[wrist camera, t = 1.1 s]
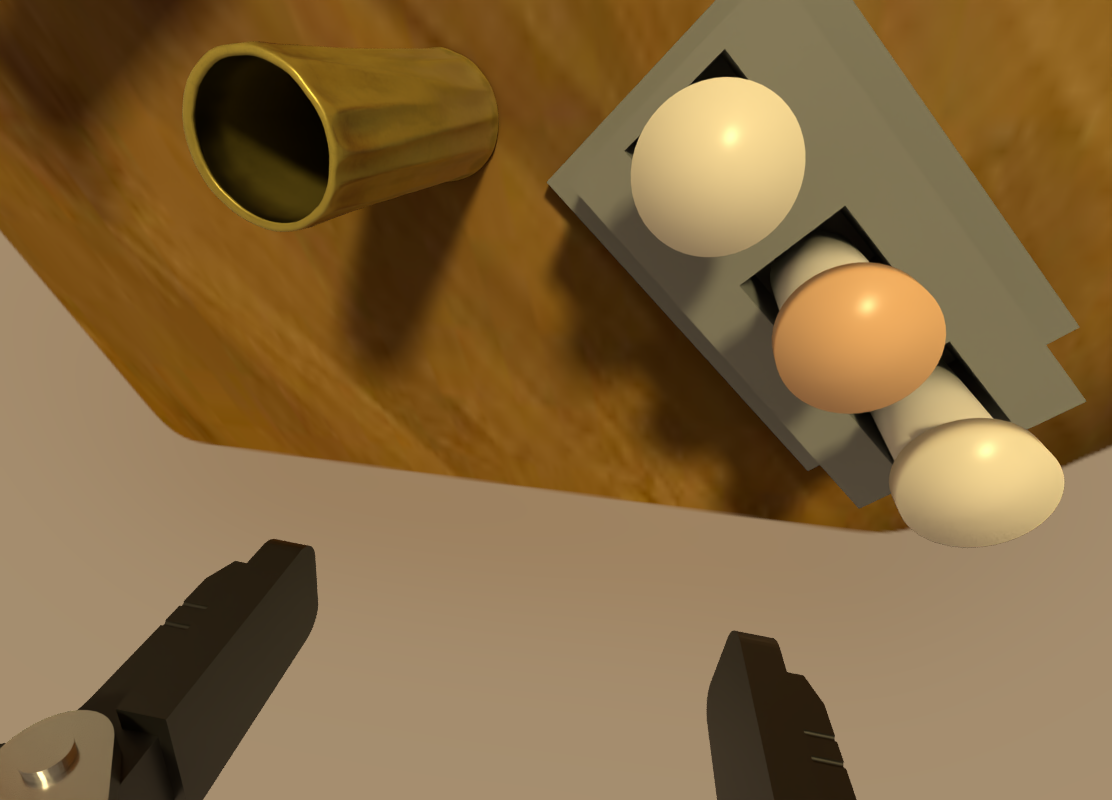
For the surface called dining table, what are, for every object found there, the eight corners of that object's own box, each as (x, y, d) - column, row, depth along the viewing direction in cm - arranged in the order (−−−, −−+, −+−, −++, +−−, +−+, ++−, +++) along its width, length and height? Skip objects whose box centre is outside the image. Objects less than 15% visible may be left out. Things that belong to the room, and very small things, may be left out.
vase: (494, 44, 27) (323, 15, 15) (505, 180, 30) (369, 249, 18) (378, 50, 28) (134, 29, 16) (399, 181, 31) (206, 245, 19)
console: (790, -78, 22) (821, -135, 17) (1067, 319, 27) (1169, 386, 21) (551, 179, 29) (512, 204, 23) (805, 461, 34) (826, 542, 28)
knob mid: (832, 189, 23) (888, 237, 16) (900, 277, 24) (978, 357, 17) (732, 267, 25) (743, 337, 18) (798, 344, 26) (831, 438, 19)
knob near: (723, 47, 21) (732, 32, 14) (800, 147, 22) (842, 176, 15) (627, 144, 24) (597, 170, 17) (701, 230, 25) (700, 288, 18)
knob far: (929, 315, 24) (1017, 407, 17) (988, 392, 25) (1094, 508, 18) (826, 377, 27) (868, 480, 20) (884, 446, 28) (943, 566, 21)
